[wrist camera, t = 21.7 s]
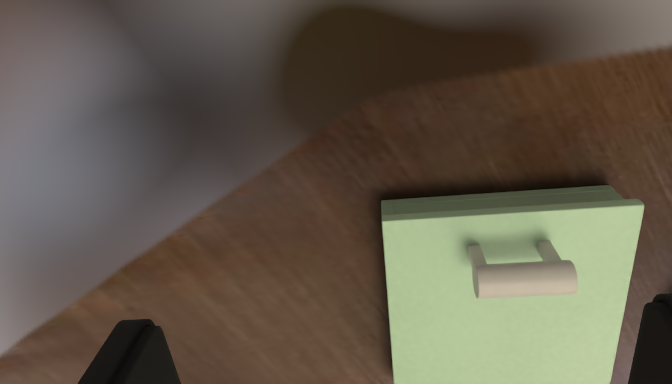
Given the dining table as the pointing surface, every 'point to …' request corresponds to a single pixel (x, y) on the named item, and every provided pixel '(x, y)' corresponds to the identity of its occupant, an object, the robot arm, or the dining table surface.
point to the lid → (509, 292)
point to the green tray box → (499, 200)
